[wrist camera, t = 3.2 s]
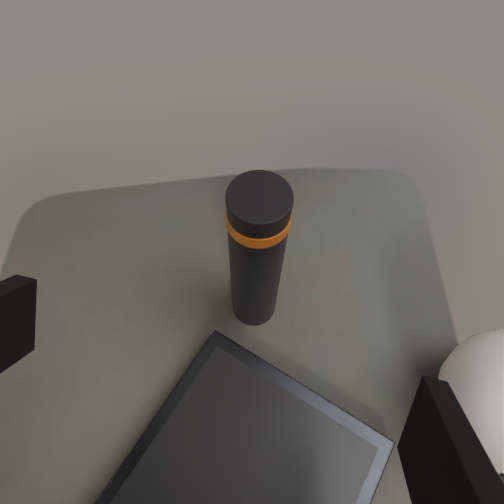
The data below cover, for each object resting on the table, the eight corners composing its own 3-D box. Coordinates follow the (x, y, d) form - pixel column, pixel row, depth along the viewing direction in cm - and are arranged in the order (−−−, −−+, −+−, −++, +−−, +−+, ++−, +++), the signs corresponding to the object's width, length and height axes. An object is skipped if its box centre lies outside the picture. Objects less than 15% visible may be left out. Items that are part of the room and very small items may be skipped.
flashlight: (223, 311, 27) (210, 204, 16) (247, 278, 28) (248, 158, 17) (261, 334, 26) (272, 237, 15) (283, 298, 27) (307, 187, 17)
